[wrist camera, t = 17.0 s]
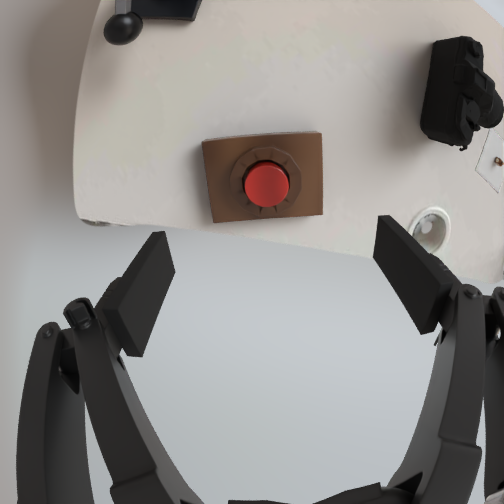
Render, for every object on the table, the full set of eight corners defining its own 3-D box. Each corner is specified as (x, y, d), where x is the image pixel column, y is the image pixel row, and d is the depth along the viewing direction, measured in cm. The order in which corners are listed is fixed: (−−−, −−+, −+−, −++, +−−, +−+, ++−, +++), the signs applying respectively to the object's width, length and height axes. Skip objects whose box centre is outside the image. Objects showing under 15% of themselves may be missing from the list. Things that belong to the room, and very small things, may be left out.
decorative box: (498, 193, 28) (505, 197, 26) (475, 170, 27) (483, 173, 25) (513, 152, 24) (520, 156, 23) (491, 125, 23) (499, 127, 22)
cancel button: (247, 202, 27) (246, 208, 25) (243, 163, 25) (242, 167, 23) (287, 199, 27) (289, 205, 25) (285, 160, 25) (287, 164, 23)
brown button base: (215, 215, 31) (211, 230, 28) (205, 139, 27) (197, 144, 23) (318, 208, 31) (326, 221, 27) (317, 131, 26) (326, 134, 23)
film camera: (462, 158, 26) (506, 178, 19) (412, 131, 25) (459, 144, 18) (479, 67, 19) (523, 69, 11) (430, 31, 18) (474, 20, 10)
